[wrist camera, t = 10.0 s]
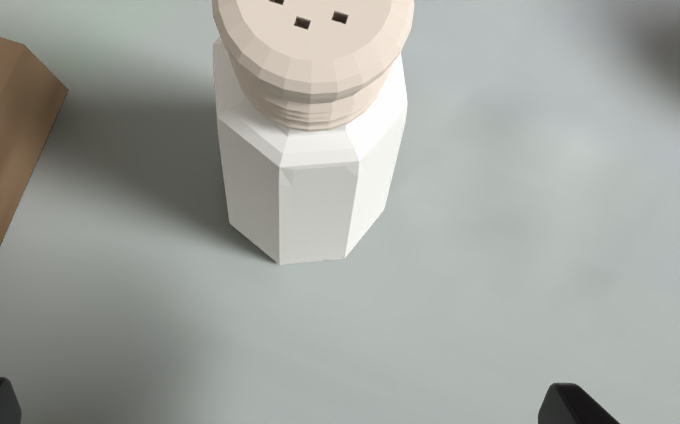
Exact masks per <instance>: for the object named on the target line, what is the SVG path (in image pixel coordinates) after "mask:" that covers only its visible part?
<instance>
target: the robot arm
mask: <svg viewBox="0 0 680 424" xmlns="http://www.w3.org/2000/svg"><path fill="white" fill-rule="evenodd" d="M20 422H21V408H20V405H19V403H18V400H17V398H16V395H15V392H14V390H13V387H12V385H11V382H10V381H9V380H8V379H7V378H5V377H0V424H20ZM538 424H620V423H619V422H618V421H617V420H615V419H614V418H613V417H612V416H611V415H610V414H609V413H608V412H607V411H606V410H605V409H604V408H602V407H601V406H600V405H599V404H598V403H597V402H596V401H595V400H594V399H593V398H592V397H591V396H589V395H588V394H587V393H586V392H585V391H584V390H583V389H582V388H581V387H580V386H578V385H576V384H574V383H553V384H552V385H551V386H550V387H549V389H548V391H547V393H546V396H545V398H544V401H543V403H542V406H541V408H540V410H539V414H538Z"/></svg>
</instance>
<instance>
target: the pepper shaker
mask: <svg viewBox="0 0 680 424" xmlns="http://www.w3.org/2000/svg"><path fill="white" fill-rule="evenodd" d="M212 7H213V18H214V20H215V23H216V26H217V28H218V31H219V34H220V37H219V38H218V39H217V40H216V41H215V42H214V44H213V70H214V85H215V100H216V113H217V127H218V139H219V146H220V154H221V162H222V170H223V177H224V185H225V193H226V201H227V208H228V216H229V223H230V224H231V225H232V226H233V227H234V228H236V229H237V230H238V231H239V232H240V233H242V234H243V235H244V236H245V237H247V238H248V239H249V240H250V241H251V242H253V243H254V244H255V245H256V246H257V247H259V248H260V249H261V250H262V251H264V252H265V253H266V254H267V255H268V256H270V257H271V258H272V259H273V260H274V261H276V262H277V263H278V264H279V265H282V264H292V263H302V262H312V261H322V260H332V259H343V258H345V257H346V256H347V255H348V253H349V252H350V251H351V250H352V249H353V247H354V246H355V245H356V244H357V242H358V241H359V240H360V239H361V237H362V236H363V235H364V234H365V233H366V231H367V230H368V229H369V228H370V226H371V225H372V224H373V223H374V221H375V220H376V219H377V218H378V216H379V215H380V214H381V213H382V212H383V210H384V208H385V204H386V200H387V196H388V192H389V188H390V183H391V179H392V175H393V171H394V167H395V163H396V158H397V154H398V150H399V146H400V142H401V138H402V134H403V129H404V125H405V121H406V112H407V95H406V87H405V80H404V73H403V66H402V58H401V50H402V48H403V45H404V43H405V41H406V39H407V37H408V35H409V32H410V30H411V26H412V19H413V12H414V0H212Z"/></svg>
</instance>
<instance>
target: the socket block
mask: <svg viewBox="0 0 680 424" xmlns="http://www.w3.org/2000/svg"><path fill="white" fill-rule="evenodd" d="M67 91H68V89H67V88H66V87H65V86H64V85H63V84H62V83H61V82H60V81H59V80H58V79H57V78H56V77H55V76H54V75H53V74H52V73H51V72H50V71H49V70H48V69H47V67H46V66H45V65H44V64H43V63H42V62H41V61H40V60H39V59H38V58H37V57H36V56H35V55H34V54H33V53H32V52H31V51H30V50H29V49H28V48H27V47H26V46H25V45H24V44H20V43H17V42H14V41H11V40H7V39H4V38H1V37H0V245H1V243H2V241H3V238H4V236H5V234H6V231H7V229H8V227H9V224H10V222H11V220H12V218H13V215H14V213H15V211H16V208H17V206H18V204H19V201H20V199H21V197H22V195H23V192H24V190H25V188H26V185H27V183H28V181H29V178H30V176H31V174H32V172H33V169H34V167H35V165H36V162H37V160H38V158H39V155H40V153H41V151H42V149H43V146H44V144H45V142H46V139H47V137H48V135H49V132H50V130H51V128H52V126H53V123H54V121H55V119H56V116H57V114H58V112H59V110H60V107H61V105H62V103H63V100H64V98H65V96H66V93H67Z"/></svg>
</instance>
